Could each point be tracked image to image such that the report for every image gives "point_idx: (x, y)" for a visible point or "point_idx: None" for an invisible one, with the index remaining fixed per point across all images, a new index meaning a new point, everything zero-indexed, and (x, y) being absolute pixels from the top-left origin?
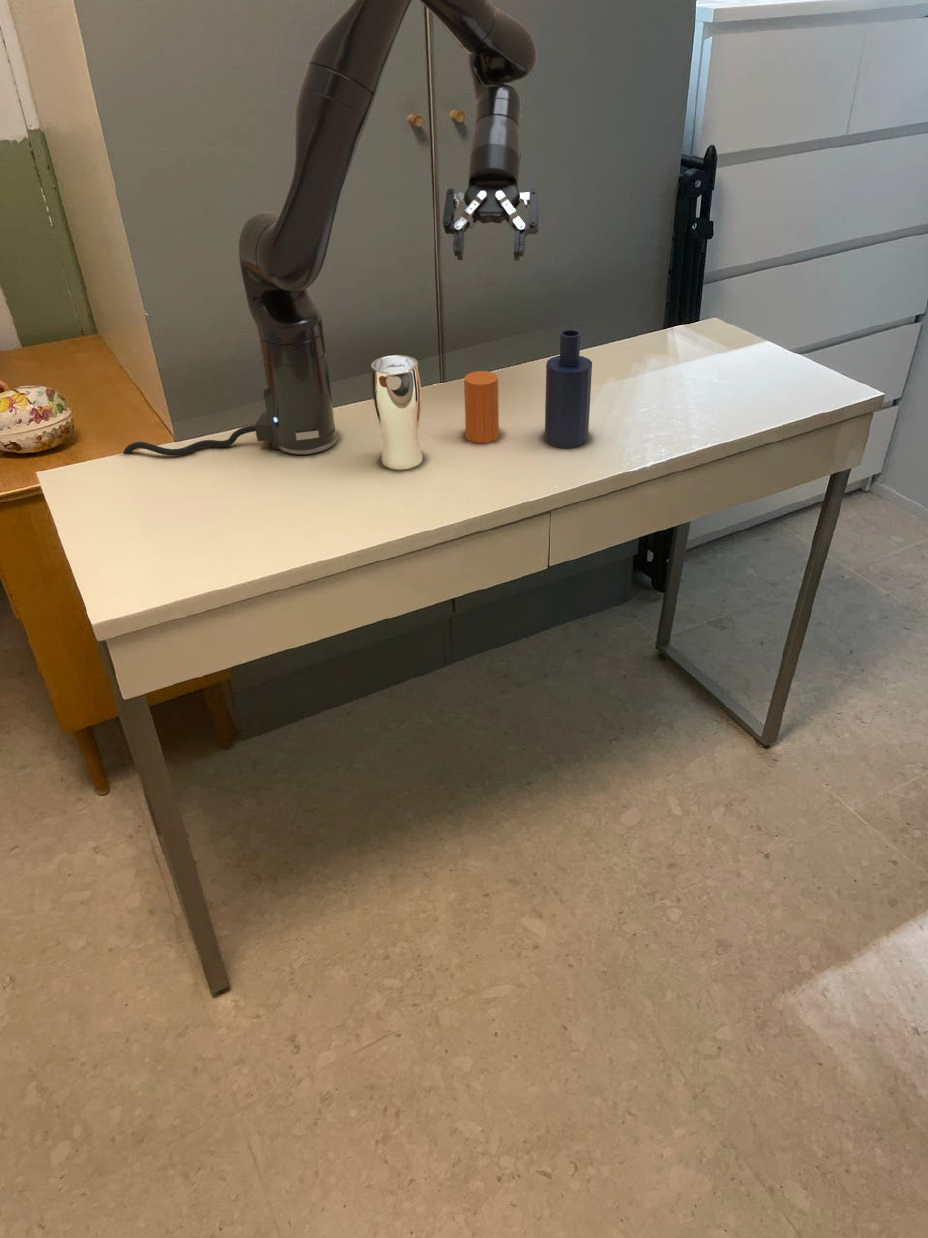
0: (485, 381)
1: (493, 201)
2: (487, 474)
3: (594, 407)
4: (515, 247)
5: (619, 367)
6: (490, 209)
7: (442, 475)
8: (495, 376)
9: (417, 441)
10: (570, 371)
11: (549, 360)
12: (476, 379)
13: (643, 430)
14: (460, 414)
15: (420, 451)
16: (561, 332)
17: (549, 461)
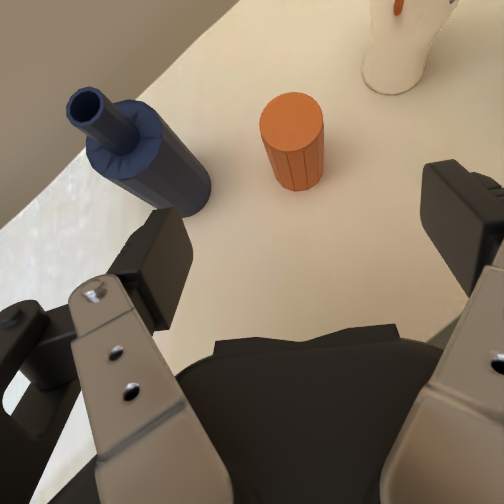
0: (278, 106)
1: (281, 470)
2: (265, 70)
3: None
4: (161, 217)
5: None
6: (305, 377)
7: (322, 50)
8: (265, 132)
9: (370, 47)
10: (118, 105)
11: (158, 141)
12: (296, 110)
13: (90, 236)
14: (352, 230)
15: (366, 65)
16: (102, 104)
17: (196, 123)
